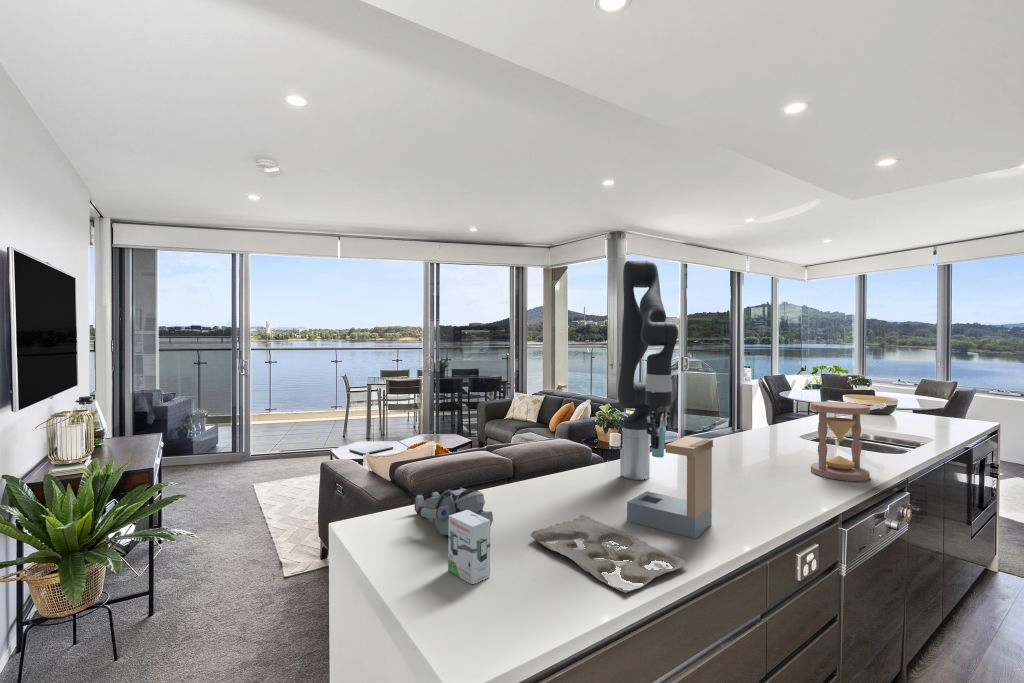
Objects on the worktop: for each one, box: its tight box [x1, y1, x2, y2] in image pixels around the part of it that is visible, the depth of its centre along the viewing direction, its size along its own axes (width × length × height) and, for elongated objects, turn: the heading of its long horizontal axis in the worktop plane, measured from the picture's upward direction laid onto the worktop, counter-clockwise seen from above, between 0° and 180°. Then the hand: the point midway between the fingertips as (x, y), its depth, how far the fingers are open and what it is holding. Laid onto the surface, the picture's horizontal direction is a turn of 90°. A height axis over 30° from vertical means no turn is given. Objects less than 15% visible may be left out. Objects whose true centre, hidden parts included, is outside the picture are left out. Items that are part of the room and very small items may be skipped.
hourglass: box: [810, 401, 871, 482], centre depth 174 cm, size 18×18×25 cm
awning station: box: [626, 435, 714, 539], centre depth 129 cm, size 18×14×22 cm
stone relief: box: [529, 514, 687, 594], centre depth 110 cm, size 32×3×20 cm
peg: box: [651, 419, 665, 459], centre depth 145 cm, size 3×3×11 cm
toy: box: [414, 487, 494, 536], centre depth 125 cm, size 17×11×30 cm
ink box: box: [447, 510, 491, 585], centre depth 100 cm, size 9×5×12 cm, turn 43°
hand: (657, 446), depth 145 cm, fingers closed on peg, 3 cm apart
